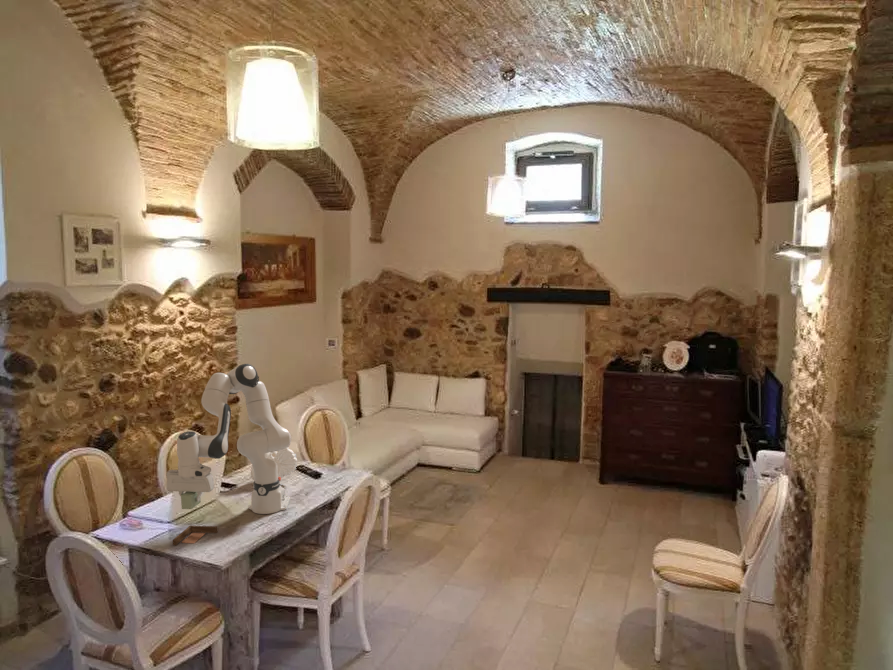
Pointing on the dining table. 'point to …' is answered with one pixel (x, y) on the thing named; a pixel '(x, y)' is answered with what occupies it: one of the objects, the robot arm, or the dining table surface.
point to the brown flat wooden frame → (194, 534)
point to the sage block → (189, 500)
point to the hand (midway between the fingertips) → (191, 500)
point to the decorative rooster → (282, 462)
